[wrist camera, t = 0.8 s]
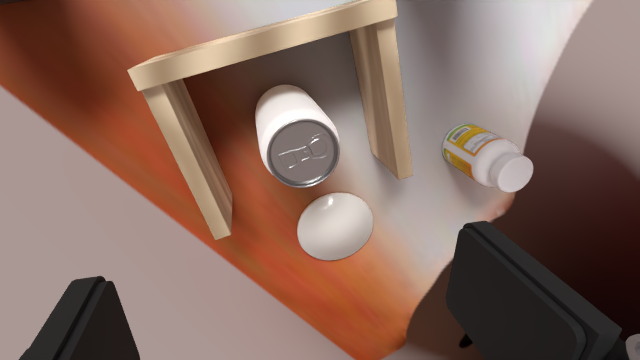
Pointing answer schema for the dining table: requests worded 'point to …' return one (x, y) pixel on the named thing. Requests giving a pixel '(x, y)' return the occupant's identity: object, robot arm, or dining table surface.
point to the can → (295, 137)
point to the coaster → (335, 226)
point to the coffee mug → (8, 1)
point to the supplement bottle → (487, 158)
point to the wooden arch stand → (356, 17)
